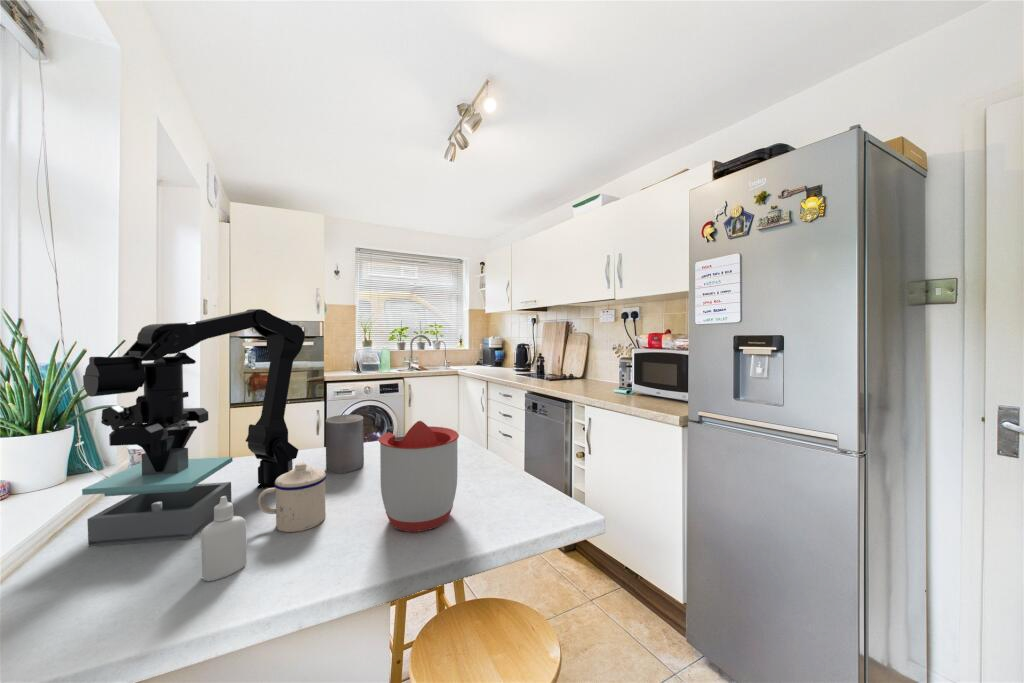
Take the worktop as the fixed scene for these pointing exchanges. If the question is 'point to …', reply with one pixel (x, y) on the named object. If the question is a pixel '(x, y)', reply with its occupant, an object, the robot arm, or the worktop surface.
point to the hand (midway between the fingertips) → (165, 468)
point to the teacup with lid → (298, 499)
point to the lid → (159, 475)
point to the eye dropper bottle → (223, 543)
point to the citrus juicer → (419, 476)
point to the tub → (157, 516)
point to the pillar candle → (344, 443)
